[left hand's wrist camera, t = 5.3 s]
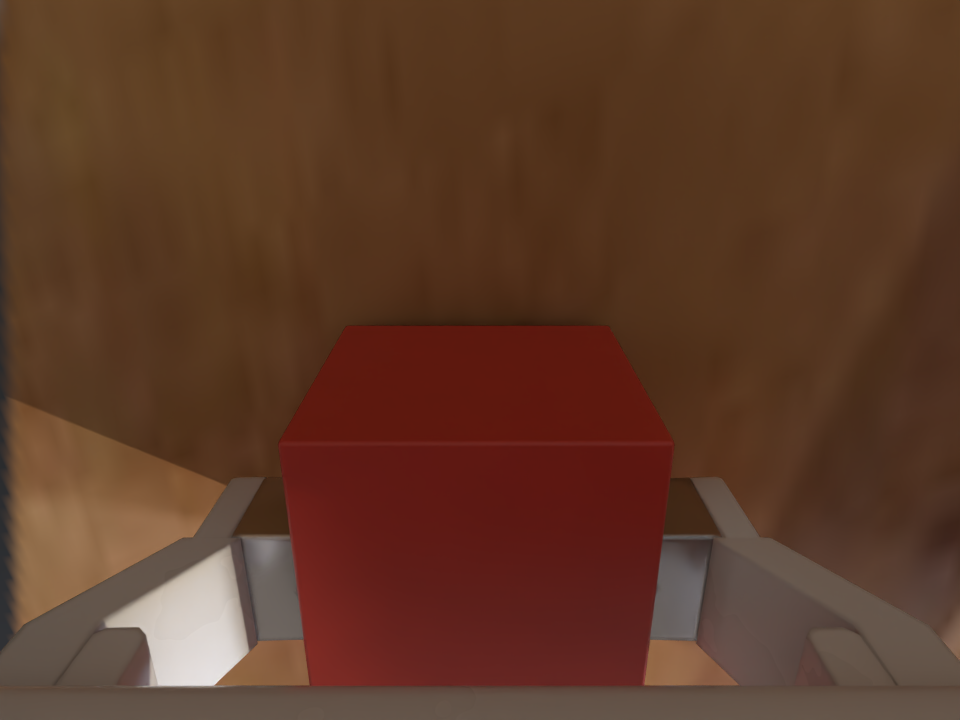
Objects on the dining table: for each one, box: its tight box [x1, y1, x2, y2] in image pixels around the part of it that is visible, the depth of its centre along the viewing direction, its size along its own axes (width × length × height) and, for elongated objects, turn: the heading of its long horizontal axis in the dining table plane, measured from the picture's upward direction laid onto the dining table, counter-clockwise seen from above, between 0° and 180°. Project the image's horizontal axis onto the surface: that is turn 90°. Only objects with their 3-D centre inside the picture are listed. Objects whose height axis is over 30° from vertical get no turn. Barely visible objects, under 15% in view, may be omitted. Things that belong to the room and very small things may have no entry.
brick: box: [278, 326, 675, 686], centre depth 10 cm, size 5×5×4 cm
